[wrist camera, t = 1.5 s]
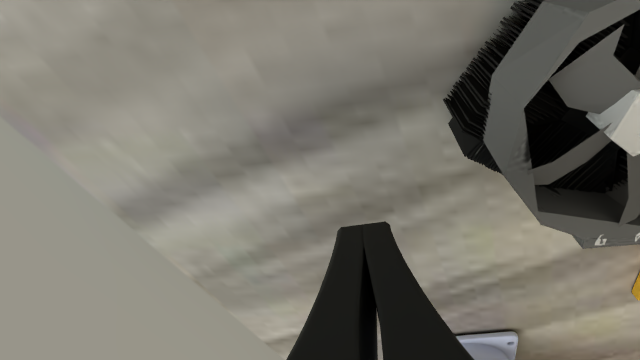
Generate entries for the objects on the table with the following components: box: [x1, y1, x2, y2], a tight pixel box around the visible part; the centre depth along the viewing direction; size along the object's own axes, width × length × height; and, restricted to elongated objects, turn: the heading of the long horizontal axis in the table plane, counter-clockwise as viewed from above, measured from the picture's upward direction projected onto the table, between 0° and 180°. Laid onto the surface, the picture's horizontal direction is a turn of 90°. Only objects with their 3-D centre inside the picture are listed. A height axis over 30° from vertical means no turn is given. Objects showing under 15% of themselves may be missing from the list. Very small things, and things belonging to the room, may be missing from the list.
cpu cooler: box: [443, 0, 640, 249], centre depth 14 cm, size 10×6×10 cm
